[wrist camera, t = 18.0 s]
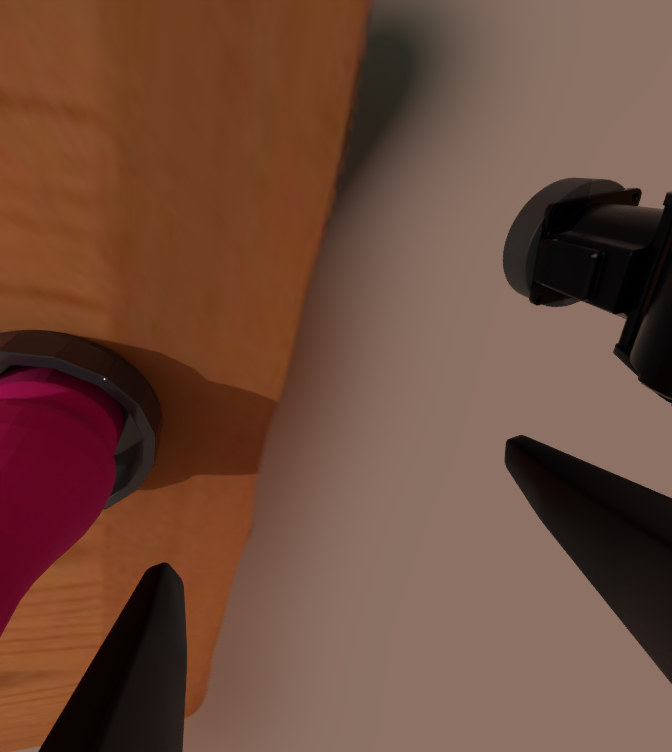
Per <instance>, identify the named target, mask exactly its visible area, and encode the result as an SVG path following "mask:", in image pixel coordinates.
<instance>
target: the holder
mask: <svg viewBox="0 0 672 752" xmlns="http://www.w3.org/2000/svg"><path fill="white" fill-rule="evenodd" d="M29 366H33V367H43V368H53V369H56V370H59V371H61V372H64V373H67V374H69V375H72V376H74V377H77V378H79V379H82V380H85V381H87V382H90V383H92V384H95V385H97V386H99V387H100V388H101V389H103V390H104V391H105V392H106V393H108V394H109V395H110V396H111V397H113V398H114V399H115V400H116V401H118V403H119V405H120V407H121V409H122V412H123V416H124V428H123V432H122V435H121V437H120V440H119V442H118V445H117V447H116V450H115V452H114V454H113V455H114V459H115V462H116V478H115V483H114V486H113V490H112V492H111V494H110V496H109V498H108V500H107V502H106V504H105V506H104V509H107V508H109V507H111V506H112V505H114V504H116V503H117V502H119V501H120V500H122V499H123V498H125V497H127V496H128V495H130V494H131V493H133V492H135V491H136V490H137V489H138V488H139V487H140V485H141V484H142V482H143V481H144V479H145V478H146V476H147V475H148V473H149V472H150V470H151V469H152V468H153V466H154V463H155V459H156V455H157V450H158V446H159V442H160V432H161V425H162V414H161V409H160V405H159V402H158V399H157V397H156V395H155V393H154V391H153V389H152V387H151V386H150V384H149V383H148V382H147V380H146V379H145V378H144V377H143V375H142V374H141V373H140V372H139V371H138V370H137V369H136V368H135V367H133V366H132V365H131V364H130V363H128V362H127V361H126V360H125V359H123V358H122V357H120V356H118V355H117V354H115V353H114V352H112V351H110V350H108V349H106V348H104V347H102V346H100V345H98V344H96V343H93V342H90V341H88V340H85V339H82V338H79V337H75V336H71V335H68V334H62V333H57V332H51V331H38V330H23V331H11V332H3V333H0V376H1V375H2V374H5V373H7V372H9V371H12V370H15V369H19V368H22V367H29Z"/></svg>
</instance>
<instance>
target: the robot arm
mask: <svg viewBox="0 0 672 752" xmlns="http://www.w3.org/2000/svg"><path fill="white" fill-rule="evenodd" d="M641 194H642V192H641V190H640V189H638V188H628V189H622V190H616V191H611V192H605V193H599V194H594V195H588V196H583V197H577V198H571V199H566V200H560V201H554V202H552V203H550V204H549V205H548V206H547V207H546V210H545V213H544V219H543V224H542V230H541V235H540V241H539V246H538V252H537V258H536V263H535V269H534V274H533V280H532V285H531V291H530V297H529V301H530V303H532V304H534V305H537V306H538V305H543V304H547V303H552V302H556V301H561V300H565V299H570V298H575V299H577V300H579V301H583V302H586V303H588V304H590V305H593V306H596V307H598V308H600V309H603V310H605V311H607V312H610V313H612V314H615V315H618V316H620V317H622V318H625V319H626V322H625V325H624V328H623V331H622V334H621V337H620V339H619V342H618V343H617V344H616V345H615V348H614V351H613V353H614V354H615V355H616V356H617V357H618V358H619V359H620V360H621V361H622V362H623V363H624V364H625V365H627V366H628V367H629V368H630V369H631V370H632V371H633V372H634V373H635V374H636V375H637V376H638V380H639V381H640V382H641V383H642V384H643V385H645V386H646V387H648V388H649V389H651V390H652V391H654V392H655V393H656V394H658V395H659V396H660V397H662V398H663V399H665V400H666V401H668V402H670V403H672V192H667V194H666V197H665V200H664V203H663V205H664V206H665V207H664V209H655V208H648V207H640V206H638V205H639V201H640V198H641ZM555 208H556V210H555V213H554V214H553V211H554V209H555ZM538 296H539V297H538ZM537 297H538V299H537ZM536 299H537V300H536ZM505 464H506V467H507V469H508V471H509V472H510V474H511V475H512V477H513V478H514V480H515V482H516V483H517V485H518V486H519V488H520V489H521V491H522V492H523V494H524V495H525V497H526V499H527V500H528V501H529V503H530V505H531V506H532V508H533V509H534V511H535V512H536V514H537V515H538V517H539V518H540V520H541V521H542V522H543V524H544V525H545V526H546V528H547V529H548V530H549V531H550V533H552V535H553V536H554V538H555V539H556V540H557V541H558V542H559V544H560V545H561V546H562V547H563V549H564V550H565V551H566V553H567V554H568V555H569V556H570V557H571V559H572V560H573V561H574V563H575V564H576V565H577V566H578V568H579V569H580V570H581V571H582V572H583V574H584V575H585V576H586V578H587V579H588V580H589V581H590V582H591V584H592V585H593V586H594V587H595V589H596V590H597V591H598V592H599V594H600V595H601V596H602V597H603V599H604V600H605V601H606V602H607V604H608V605H609V606H610V608H611V609H612V610H613V611H614V612H615V614H616V615H617V616H618V617H619V619H620V620H621V621H622V622H623V624H624V625H625V626H626V627H627V629H628V630H629V631H630V633H631V634H632V635H633V636H634V637H635V639H636V640H637V641H638V642H639V644H640V645H641V646H642V647H643V649H644V650H645V651H646V652H647V654H648V655H649V656H650V657H651V659H652V660H653V661H654V662H655V664H656V665H657V666H658V668H659V669H660V670H661V671H662V672H663V674H664V675H665V676H666V677H667V679H668V680H669V681H670V682H671V684H672V498H670V497H667V496H665V495H663V494H660V493H658V492H656V491H653V490H651V489H649V488H646V487H644V486H642V485H639V484H637V483H635V482H632V481H630V480H627V479H625V478H623V477H620V476H618V475H615V474H613V473H611V472H608V471H606V470H604V469H601V468H599V467H597V466H594V465H592V464H590V463H588V462H585V461H583V460H581V459H578V458H576V457H573V456H571V455H569V454H566V453H564V452H562V451H559V450H557V449H555V448H552V447H550V446H548V445H545V444H543V443H541V442H538V441H536V440H533V439H531V438H529V437H526V436H523V435H519V436H516V437H513V438H510V439H508V440H507V442H506V449H505ZM186 674H187V638H186V619H185V599H184V586H183V582H182V579H181V578H180V577H179V575H178V574H177V573H176V572H175V571H174V570H173V568H172V567H171V566H170V565H169V564H168V563H165V562H164V563H161V564H158V565H155V566H152V567H150V568H149V569H148V570H147V571H146V572H145V573H144V575H143V577H142V578H141V580H140V582H139V584H138V585H137V587H136V589H135V590H134V592H133V594H132V595H131V597H130V599H129V600H128V602H127V604H126V605H125V607H124V609H123V610H122V612H121V614H120V615H119V617H118V619H117V620H116V622H115V624H114V625H113V627H112V629H111V630H110V632H109V634H108V636H107V637H106V639H105V641H104V642H103V644H102V646H101V647H100V649H99V651H98V652H97V654H96V656H95V657H94V659H93V661H92V662H91V664H90V666H89V667H88V669H87V671H86V672H85V674H84V676H83V677H82V679H81V681H80V683H79V684H78V686H77V688H76V689H75V691H74V693H73V694H72V696H71V698H70V699H69V701H68V703H67V704H66V706H65V708H64V709H63V711H62V713H61V714H60V716H59V718H58V719H57V721H56V723H55V724H54V726H53V728H52V729H51V731H50V733H49V735H48V736H47V738H46V740H45V741H44V743H43V745H42V746H41V748H40V750H39V751H38V752H182V751H183V731H184V712H185V693H186Z"/></svg>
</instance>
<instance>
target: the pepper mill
mask: <svg viewBox="0 0 672 752" xmlns="http://www.w3.org/2000/svg"><path fill="white" fill-rule="evenodd" d="M123 428H124V416H123V412H122V409H121V407H120V405H119V403H118V401H116V400H115V399H114V398H113V397H111V396H110V395H109V394H108V393H106V392H105V391H104V390H103V389H101V388H100V387H99V386H97V385H95V384H92V383H90V382H87V381H85V380H82V379H79V378H77V377H74V376H72V375H69V374H67V373H64V372H61V371H59V370H56V369H53V368H43V367H33V366H29V367H22V368H19V369H15V370H12V371H9V372H7V373H5V374H2V375H1V376H0V637H1V635H2V633H3V631H4V629H5V627H6V626H7V624H8V622H9V620H10V618H11V616H12V614H13V613H14V611H15V609H16V607H17V605H18V603H19V602H20V600H21V599H22V597H23V596H24V595H25V594H26V592H27V591H28V590H29V588H30V587H31V586H32V584H33V583H34V582H35V581H36V580H37V579H38V578H39V577H40V576H41V575H42V574H43V573H44V572H45V571H46V570H47V569H48V568H49V567H50V566H51V565H52V564H53V563H54V562H55V561H56V560H57V559H58V558H59V557H60V556H62V555H63V554H64V553H65V552H66V551H67V550H68V549H69V548H70V547H72V546H73V545H74V544H75V543H76V542H77V541H78V540H79V539H80V538H81V537H82V536H83V535H84V534H85V533H86V532H87V530H88V529H89V528H90V527H91V525H92V524H93V523H94V522H95V520H96V519H97V518H98V516H99V515H100V513H101V512H102V510H103V509H104V506H105V504H106V502H107V500H108V498H109V496H110V494H111V492H112V490H113V486H114V483H115V478H116V462H115V459H114V455H113V454H114V452H115V450H116V447H117V445H118V442H119V440H120V437H121V435H122V432H123Z"/></svg>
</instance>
